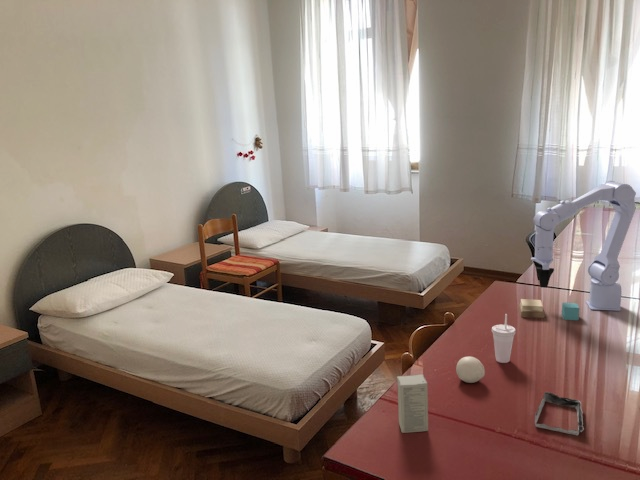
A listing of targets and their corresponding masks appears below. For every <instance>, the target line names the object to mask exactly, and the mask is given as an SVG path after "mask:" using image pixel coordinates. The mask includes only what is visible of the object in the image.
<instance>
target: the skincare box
mask: <svg viewBox="0 0 640 480" xmlns="http://www.w3.org/2000/svg"><path fill="white" fill-rule="evenodd" d="M396 379H397V381H396V383H397V384H396V385H397V405H398V407H397V408H398V412H397V413H398V414H397V415H398V424H399V427H400V428H399V429H400V431H401V433H402V434H405V433H417V432H418V433H419V432H428V431H429V403H428V402H429V401H428V400H429V399H428V396H429V395H428V381H427V380H426V377H425V376H424V374H423V373H422V374H421V373H420V374H411V375H410V374H409V375H408V374H407V375H398V376H396Z"/></svg>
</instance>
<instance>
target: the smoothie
mask: <svg viewBox="0 0 640 480" xmlns="http://www.w3.org/2000/svg"><path fill="white" fill-rule="evenodd" d="M491 332H492V337H493V346H494V353H495V354H494V355H495V361H496V362H498V363H502V364H507V363H509V362H510V360H511V354H512V347H513V342H514V336H515V335H516V328H515V327H514V326H512V325H510V324H508V314H507V313H505V314H504V324H496V325H493V326H492V327H491Z"/></svg>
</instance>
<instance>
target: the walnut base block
mask: <svg viewBox="0 0 640 480" xmlns="http://www.w3.org/2000/svg"><path fill="white" fill-rule="evenodd" d="M518 310H519V311H518V312H519V315H520V318H530V319H531V318H534V319H535V318H536V319H545V317H546V312H545V309H544V308H543V312H532V311H522V308H521V303H519V304H518Z"/></svg>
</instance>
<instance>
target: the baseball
mask: <svg viewBox="0 0 640 480" xmlns="http://www.w3.org/2000/svg"><path fill="white" fill-rule="evenodd" d="M455 368H456V369H455V370H456V375H457V376H458V378H459V379H460V380H461V381H463V383H464V382H465V383H467V384H472V383H474V384H475V383H476V382H478V381H480V380H482V379H483V378H484V376H485V375H486V374H485V373H486V370H485V366H484V364H483V363H482V362H481V361H480V360H479V359H478V358H477V357H474V356H470V355H469V356H464V357H462V358H460V359H459V360H458V361H457V364H456V367H455Z"/></svg>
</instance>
